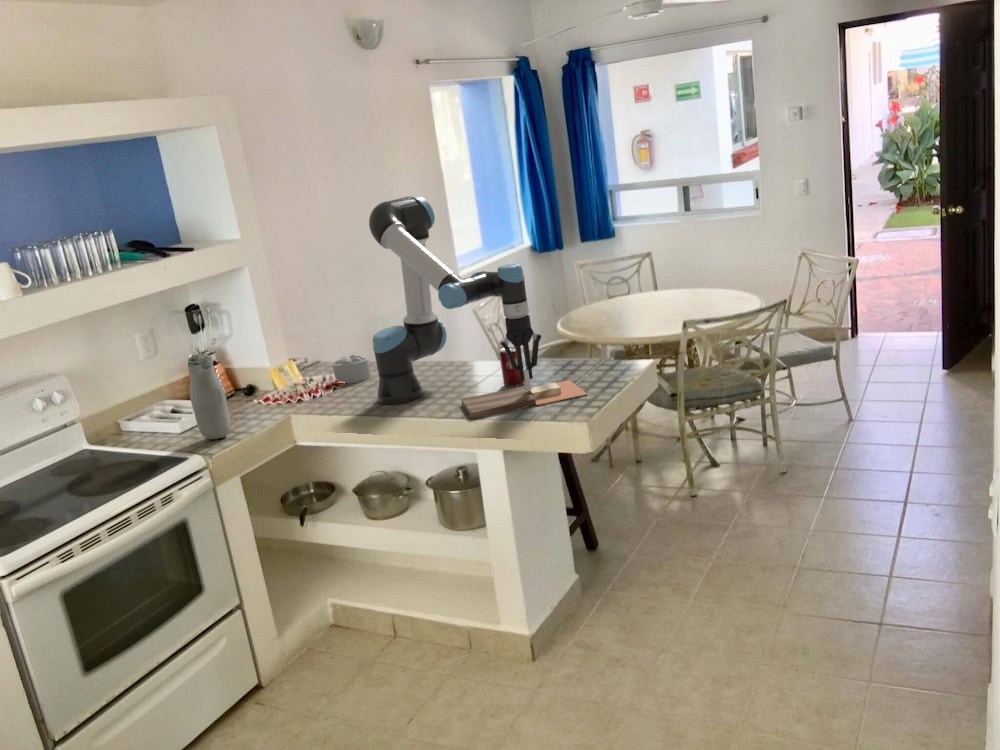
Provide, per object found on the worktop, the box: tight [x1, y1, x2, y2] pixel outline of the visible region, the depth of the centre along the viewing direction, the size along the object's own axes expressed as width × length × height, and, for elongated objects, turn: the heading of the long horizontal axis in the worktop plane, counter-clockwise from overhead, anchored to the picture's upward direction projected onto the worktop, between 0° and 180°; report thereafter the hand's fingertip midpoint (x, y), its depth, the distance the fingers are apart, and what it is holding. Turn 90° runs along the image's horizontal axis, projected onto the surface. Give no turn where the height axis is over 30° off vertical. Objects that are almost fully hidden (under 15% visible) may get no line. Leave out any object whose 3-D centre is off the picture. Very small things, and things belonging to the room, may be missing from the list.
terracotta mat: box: [535, 379, 588, 406], centre depth 278 cm, size 18×16×1 cm
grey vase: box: [187, 353, 232, 440], centre depth 283 cm, size 10×10×28 cm
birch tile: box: [528, 382, 561, 399], centre depth 277 cm, size 9×6×2 cm, turn 102°
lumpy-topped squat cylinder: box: [332, 353, 372, 384], centre depth 332 cm, size 10×13×9 cm
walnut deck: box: [460, 385, 536, 420], centre depth 275 cm, size 16×20×2 cm
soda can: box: [498, 346, 525, 388], centre depth 293 cm, size 7×7×12 cm
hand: (527, 389), depth 276 cm, fingers closed
